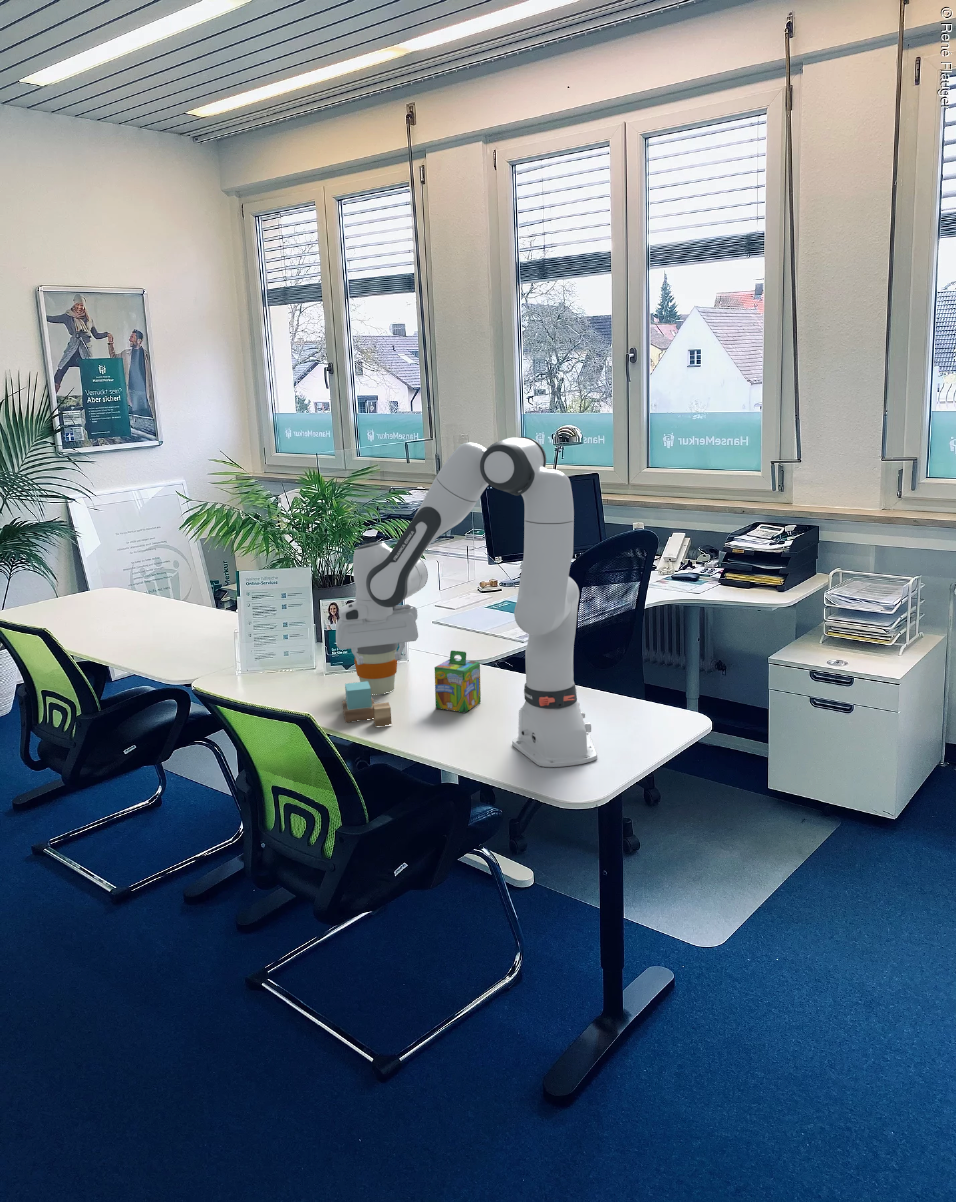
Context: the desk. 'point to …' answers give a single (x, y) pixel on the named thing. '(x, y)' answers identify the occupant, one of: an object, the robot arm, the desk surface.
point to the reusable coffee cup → (378, 667)
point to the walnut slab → (357, 713)
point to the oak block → (382, 714)
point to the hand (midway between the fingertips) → (379, 661)
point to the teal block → (358, 695)
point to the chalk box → (457, 683)
